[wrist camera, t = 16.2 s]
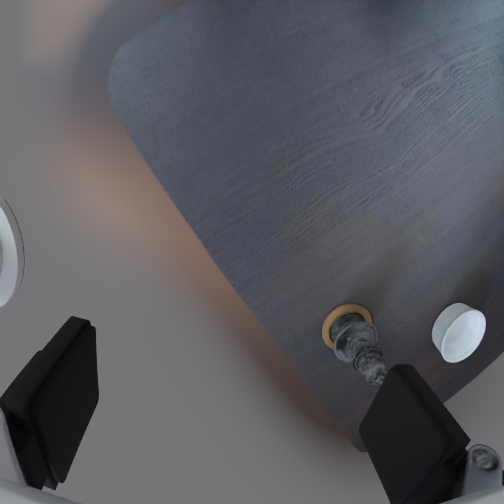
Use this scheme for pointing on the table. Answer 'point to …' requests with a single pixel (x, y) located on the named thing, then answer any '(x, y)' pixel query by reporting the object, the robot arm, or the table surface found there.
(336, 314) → the coaster
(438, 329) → the ramekin
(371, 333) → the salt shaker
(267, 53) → the table surface
